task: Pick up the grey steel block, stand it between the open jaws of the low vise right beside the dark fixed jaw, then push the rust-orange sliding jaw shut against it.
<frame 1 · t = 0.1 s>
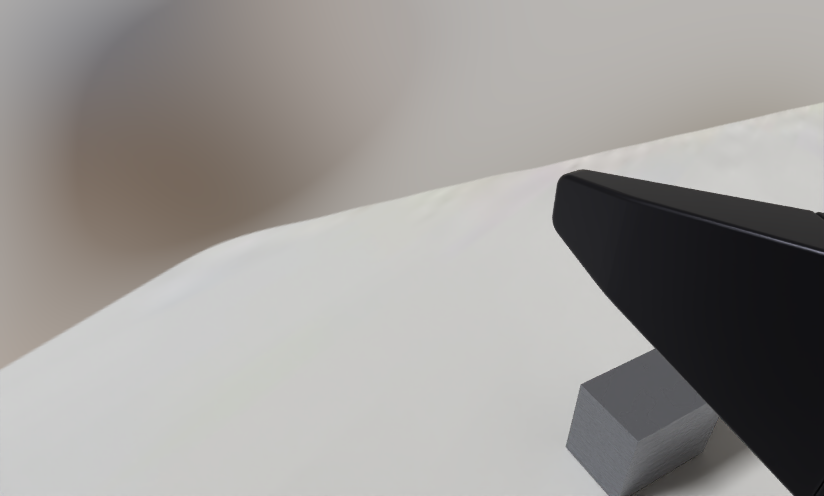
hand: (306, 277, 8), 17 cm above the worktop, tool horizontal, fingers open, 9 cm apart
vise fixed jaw: (633, 449, 25), on the worktop
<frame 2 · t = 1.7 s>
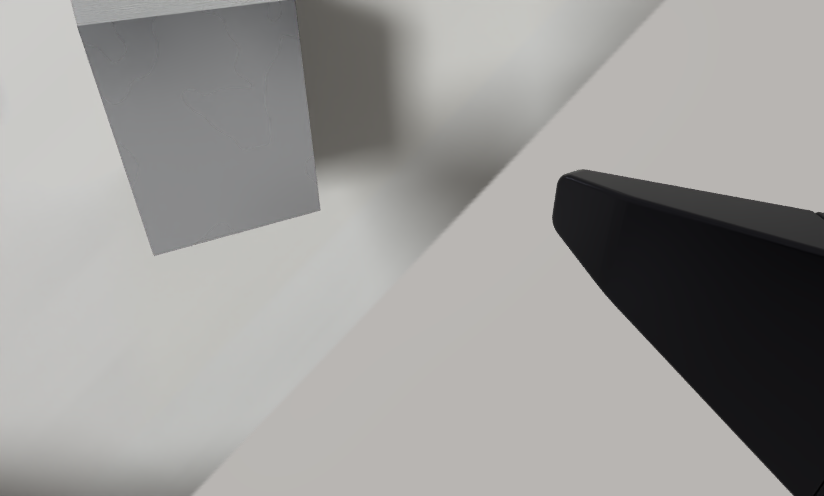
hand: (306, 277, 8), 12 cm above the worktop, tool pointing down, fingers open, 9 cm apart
steel block: (171, 59, 17), on the worktop
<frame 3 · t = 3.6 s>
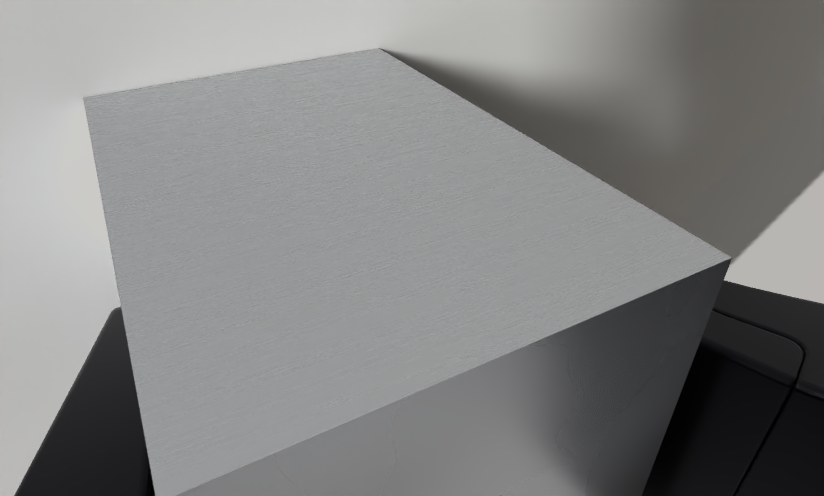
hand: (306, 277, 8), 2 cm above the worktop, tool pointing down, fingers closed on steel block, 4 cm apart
steel block: (273, 225, 9), on the worktop, touching gripper
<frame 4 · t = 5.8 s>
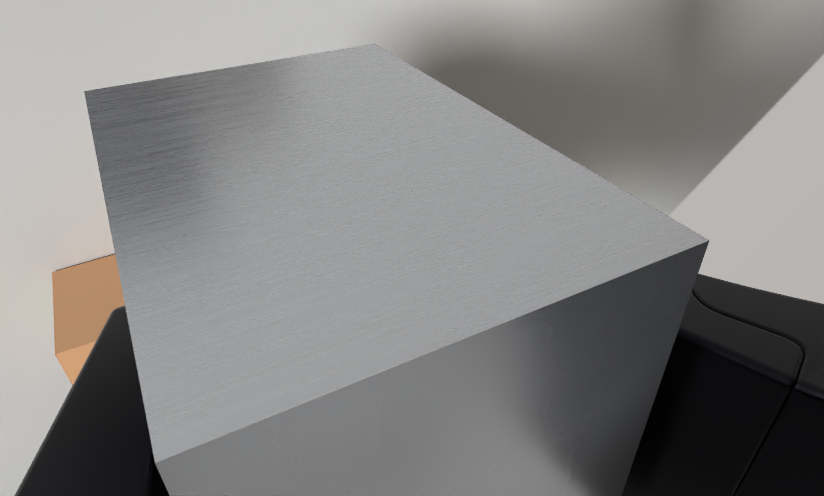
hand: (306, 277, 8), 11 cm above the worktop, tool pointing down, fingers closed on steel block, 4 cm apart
steel block: (271, 218, 9), point 10 cm above the worktop, touching gripper
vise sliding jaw: (157, 312, 18), point 2 cm above the worktop, slide at 6.0 cm
when the fingers open (2 cm above the worktop, at t = 8.1 s): steel block stays where it is, on the worktop.
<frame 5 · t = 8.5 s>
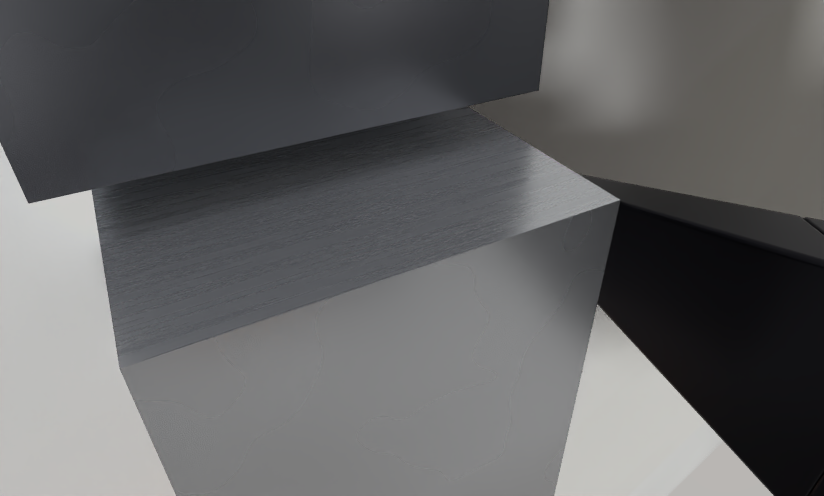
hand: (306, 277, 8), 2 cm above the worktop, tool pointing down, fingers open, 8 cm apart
steel block: (252, 199, 10), on the worktop
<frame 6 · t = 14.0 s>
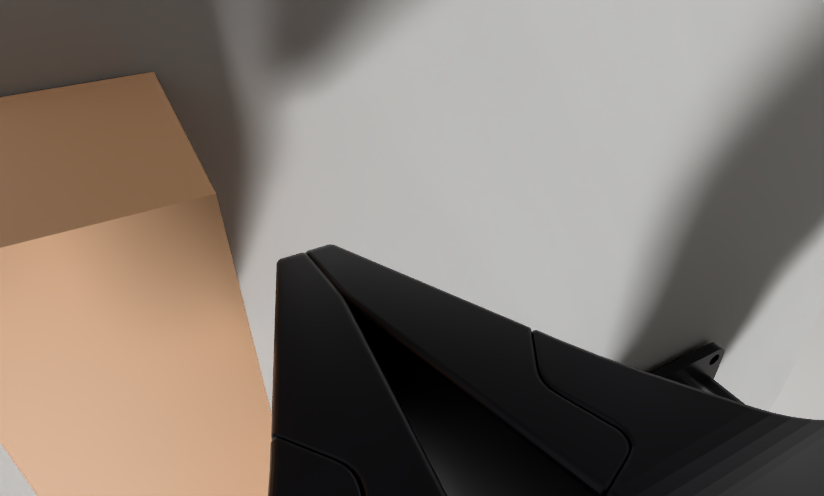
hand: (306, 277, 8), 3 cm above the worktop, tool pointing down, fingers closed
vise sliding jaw: (129, 314, 8), point 2 cm above the worktop, slide at 5.2 cm, touching gripper
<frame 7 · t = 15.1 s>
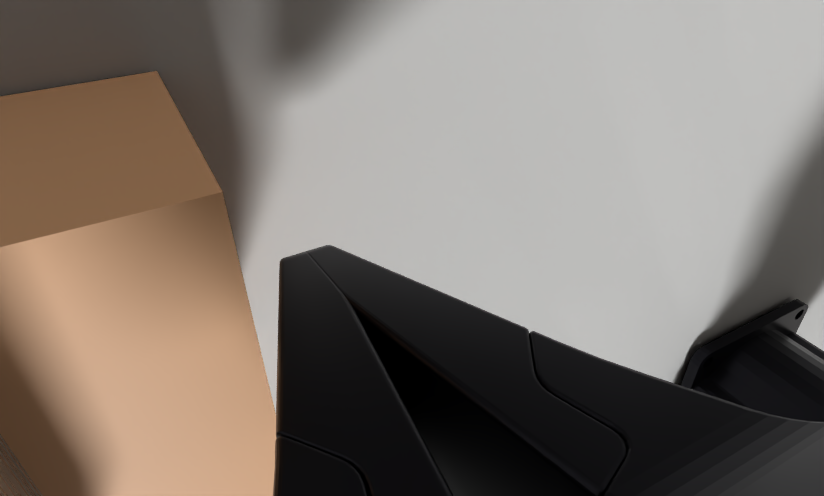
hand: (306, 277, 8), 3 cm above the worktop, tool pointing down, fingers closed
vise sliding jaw: (132, 313, 8), point 2 cm above the worktop, slide at 0.0 cm, touching gripper, steel block
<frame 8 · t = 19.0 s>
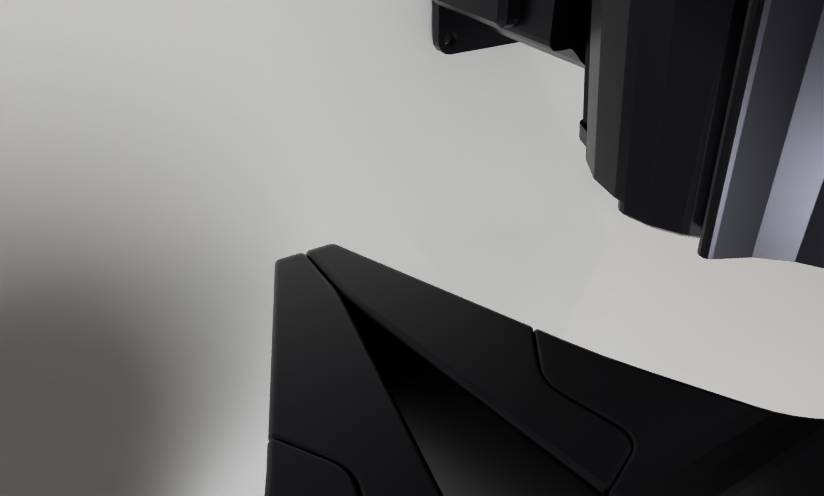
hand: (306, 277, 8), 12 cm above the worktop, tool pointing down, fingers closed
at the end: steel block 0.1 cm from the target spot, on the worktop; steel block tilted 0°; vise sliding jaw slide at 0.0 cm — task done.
